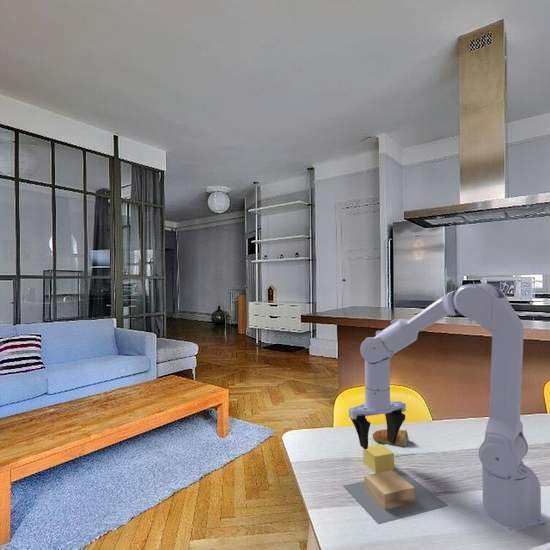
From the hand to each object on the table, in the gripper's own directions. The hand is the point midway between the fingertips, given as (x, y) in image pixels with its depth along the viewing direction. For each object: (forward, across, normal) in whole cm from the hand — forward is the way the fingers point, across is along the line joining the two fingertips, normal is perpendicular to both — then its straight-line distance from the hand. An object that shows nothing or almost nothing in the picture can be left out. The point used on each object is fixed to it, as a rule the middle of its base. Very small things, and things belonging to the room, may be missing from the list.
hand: (377, 444), depth 88 cm
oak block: (+5, +5, +11) cm, 13 cm away
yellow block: (+6, 0, 0) cm, 6 cm away
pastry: (+6, -12, -10) cm, 17 cm away
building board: (+6, +4, +11) cm, 13 cm away
